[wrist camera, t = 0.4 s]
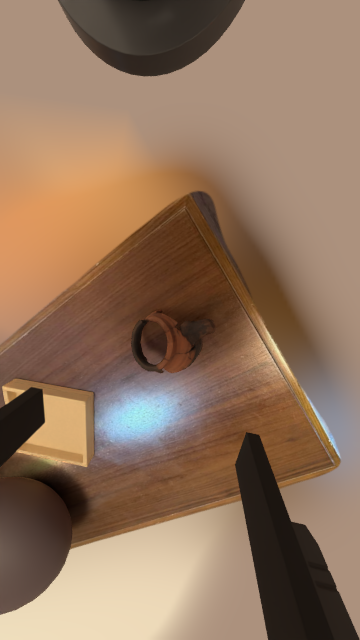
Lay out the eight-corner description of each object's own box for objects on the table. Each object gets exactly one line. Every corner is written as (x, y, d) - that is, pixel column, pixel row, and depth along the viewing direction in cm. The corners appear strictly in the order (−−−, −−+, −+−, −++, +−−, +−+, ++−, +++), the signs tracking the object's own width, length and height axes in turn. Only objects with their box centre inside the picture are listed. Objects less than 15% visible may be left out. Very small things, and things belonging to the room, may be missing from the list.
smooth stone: (62, 539, 47) (2, 658, 32) (-22, 491, 44) (-126, 595, 30) (107, 495, 40) (57, 620, 26) (12, 435, 38) (-101, 534, 23)
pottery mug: (174, 373, 30) (139, 389, 23) (155, 325, 33) (118, 326, 26) (236, 345, 25) (214, 355, 18) (207, 289, 27) (178, 278, 20)
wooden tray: (15, 378, 34) (1, 386, 31) (93, 392, 33) (85, 401, 30) (25, 440, 38) (13, 451, 35) (94, 454, 37) (87, 467, 34)
